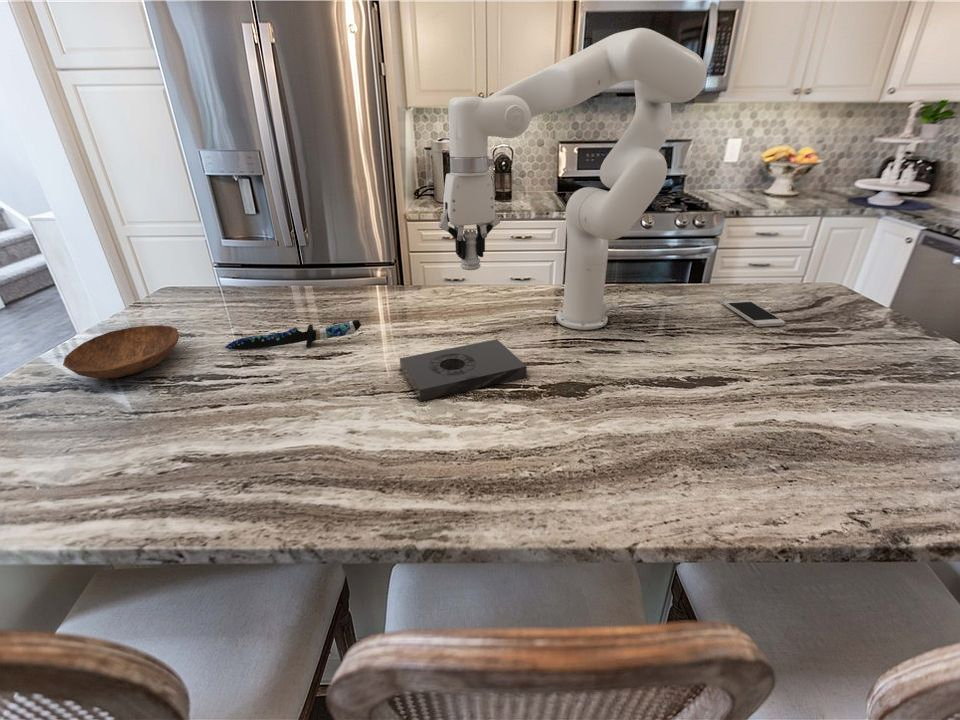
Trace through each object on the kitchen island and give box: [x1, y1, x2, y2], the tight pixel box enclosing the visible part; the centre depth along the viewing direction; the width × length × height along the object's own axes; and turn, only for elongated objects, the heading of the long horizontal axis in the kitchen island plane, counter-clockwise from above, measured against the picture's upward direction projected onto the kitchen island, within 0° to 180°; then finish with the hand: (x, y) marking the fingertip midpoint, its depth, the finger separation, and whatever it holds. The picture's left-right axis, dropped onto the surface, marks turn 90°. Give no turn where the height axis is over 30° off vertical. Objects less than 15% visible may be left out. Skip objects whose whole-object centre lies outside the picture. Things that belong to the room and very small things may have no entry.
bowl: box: [62, 324, 180, 380], centre depth 105 cm, size 20×22×5 cm
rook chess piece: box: [460, 229, 481, 271], centre depth 107 cm, size 4×4×8 cm
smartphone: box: [723, 299, 786, 328], centre depth 126 cm, size 7×15×1 cm, turn 6°
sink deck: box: [399, 339, 528, 402], centre depth 100 cm, size 22×14×2 cm, turn 113°
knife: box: [225, 319, 362, 351], centre depth 113 cm, size 31×3×4 cm, turn 93°
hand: (470, 255), depth 108 cm, fingers closed on rook chess piece, 3 cm apart
